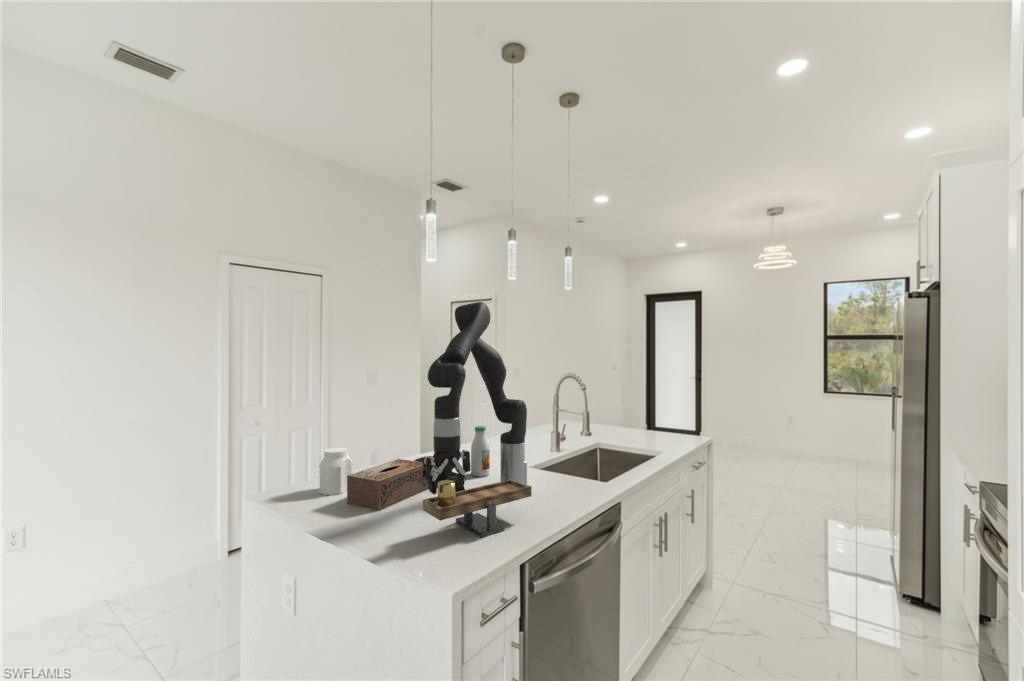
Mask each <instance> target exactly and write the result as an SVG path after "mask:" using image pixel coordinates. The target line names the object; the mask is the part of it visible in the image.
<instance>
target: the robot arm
mask: <svg viewBox="0 0 1024 681" xmlns="http://www.w3.org/2000/svg"><path fill="white" fill-rule="evenodd" d="M454 319H455V323H456V325H457V328H458V330H459V331H460V332H458V333H457V334H456V335H455V336H453V337H452V339H451V340H450V342H449V343H448V345H447V347H446V349H445V351H444V352H443V353H442V354H441V355H440V356H439V357H437V359H435V360H434V361H433V362H432V363H431V365H430V366H429V369H428V371H427V380H428V383H429V384H430V385H431V387H434V388H438V389H439V388H441V389H442V388H445V389H447V388H448V389H450V391H449V393H448V394H445V395H441V396H437V397H436V398H434V399H435V400H434V407H433V408H434V417H433V418H434V420H433V455H432V456H433V457H427V456H426V455H425V456H423V457H424V458H423V472H422V477H423V478H425V479H427V480H429V485H428V490H429V492H430V494H432V495H437V494H438V484H437V481H436V479H437V477H438V475H439V474H441V472H442V470H444V471H445V470H448V469H452V470H455V471H456V473H458V474H457V487H458V488H463V486H464V487H465V475H466V473H469V472H470V471H471V452H470V451H468V450H466V449H463V450H461V451H460V449H461V420H460V401H461V396H462V392H463V388H464V386H465V385H464V384H465V382H466V377H467V376H466V374H467V373H466V369H465V368H464V366H465V365H466V364H467V360H468V358H469V356H470V354H472V357H473V359H474V361H475V363H476V366H477V369H478V372H479V374H480V376H481V378H482V380H483V382H484V384H485V387H486V390H487V392H488V394H489V398H490V400H491V404H492V407H493V411H494V413H495V414H494V415H495V416H496V418H497V420H498V421H499V422H501V423H502V424H510V425H511V428H510V430H509V431H506V432H503V433H501V435H500V439H499V440H500V482H502V481H506V480H510V479H513V480H515V481H518V482H521V483H523V484H526V485H528V464H527V463H528V462H527V461H526V460H525V458H526V456H525V455H526V454H525V453H526V452H525V451H526V447H525V445H526V444H525V441H526V440H525V438H526V433H527V420H528V419H527V416H528V409H527V405H526V403H525V401H524V400H522V399H514V398H513V399H512V398H508V397H507V396H506V394H505V391H504V384H505V381H506V378H507V377H506V376H507V369H506V368H507V367H506V366H505V363H504V361H503V358H502V355H500V353H499V351H497V350H496V349H495V348H494V347H493V346H491V345H490V344H488V343H487V342H486V341H484V340H483V339H482V338H481V336H482V335H483V334H484V332H485V331H486V330H487V328H488V327H489V325H490V323H491V311H490V309H489V306H488V305H487V303H485V302H484V301H483V302H482V301H477V302H472V303H467V304H463V305H460V306H457V307H456V308H455V310H454ZM460 459H461V461H462V465H461V463H460V462H459V461H460ZM433 461H434V462H435V464H434V466H433V468H432V471H431V464H432V462H433ZM437 468H438V469H437Z"/></svg>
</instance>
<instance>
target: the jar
mask: <svg viewBox="0 0 1024 681" xmlns="http://www.w3.org/2000/svg"><path fill="white" fill-rule="evenodd" d="M348 450H349V449H348V448H347V447H331V448H326V449H325V450H324V452H323V455H324V456H323V458H322V460H320V462H319V488H318V491H319V493H320V495H321V494H322V495H324V496H325V495H327V496H336V495H342V494H343V493H345V492H347V475H350V474H353V460H352V459H351V458H350V456H349V453H348V452H349V451H348Z"/></svg>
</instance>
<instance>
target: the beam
mask: <svg viewBox="0 0 1024 681" xmlns="http://www.w3.org/2000/svg"><path fill="white" fill-rule="evenodd" d="M530 497H532V486H531V485H529V484H527V485H526V484H523V483H521V482H518V481H515V480H513V479H510V480H506V481H502V482H501V481H498V482H493V483H489V484H484V485H480V486H477V487H472V488H469V489H465V490H463V491H458V492H456V504H454V505H450V506H446V507H441V506H438V495H437V496H433V497H429V498H425V499H422V511H424V512H425V513H427V514H428V515H431V517H434V518H435V519H436V520H438V521H440V522H441V521H445V520H448V519H451V518H455V517H456V518H457V517H458V516H462V515H463V516H464V514H467V513H471V512H473V513H474V512H477V511H480V510H487V505H491V504H495V505H496V507H497V506H500V505H504V504H507V503H512V502H514V501H515V502H516V501H520V500H522V499H527V498H530Z"/></svg>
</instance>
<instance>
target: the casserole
mask: <svg viewBox="0 0 1024 681" xmlns="http://www.w3.org/2000/svg"><path fill="white" fill-rule="evenodd" d="M424 457H425V456H423V457H422V456H421V457H419V458H416V459H414V460H413V461H417V462H423V458H424ZM426 457H433V455H432V456H431V455H429V456H426ZM434 464H435V462H434V461H433V462H432V464H431V471H432V468H433V466H434ZM437 469H438V468H437ZM445 472H446V473H447V474H448V475H449V476H450V477H454V476H457V474H458V472H454V471H453V469H448V470H445V471H444V470H442V472H441V474H439V475H438V477H437V479H436V481H437V485H438V482H440V481H444V480H447V479H448V478H449V477H448V476H447V475H446V473H445ZM428 486H429V480H428Z"/></svg>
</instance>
